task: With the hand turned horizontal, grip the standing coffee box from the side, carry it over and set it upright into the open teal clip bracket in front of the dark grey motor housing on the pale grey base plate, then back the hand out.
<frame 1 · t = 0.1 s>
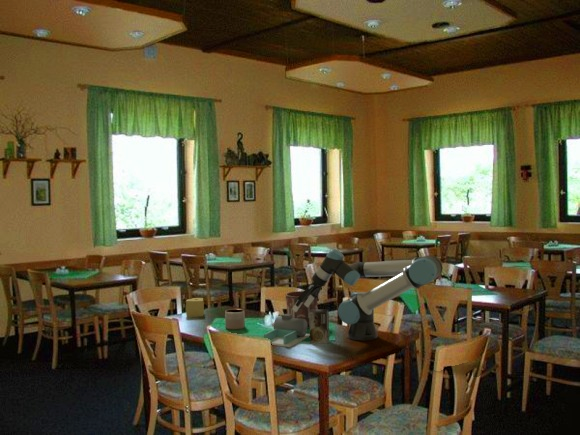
hand: (300, 308, 316), 15 cm above the table, tool tilted 35°, fingers open, 13 cm apart
planter: (235, 328, 341), on the table
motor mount: (285, 339, 313), on the table
pottery: (301, 325, 343), on the table
coffee box: (319, 342, 307), on the table
cheese: (195, 315, 375), on the table
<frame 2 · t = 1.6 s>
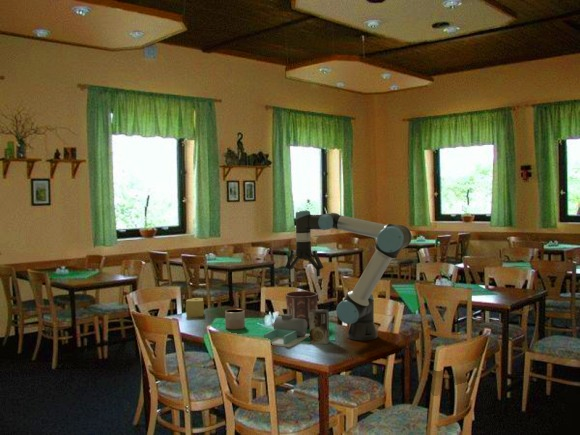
hand: (304, 282, 315), 29 cm above the table, tool pointing down, fingers open, 13 cm apart
nothing on the table moved.
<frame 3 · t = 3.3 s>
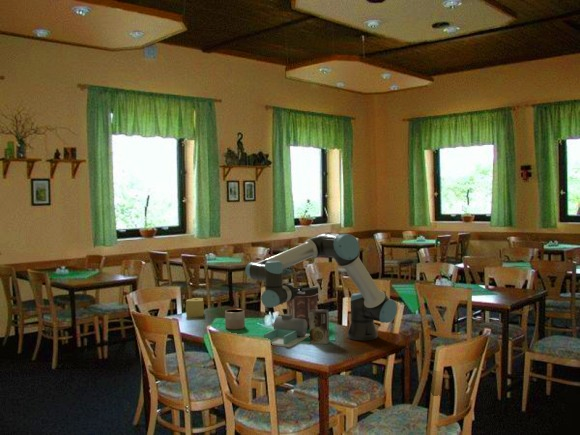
hand: (305, 286, 292), 30 cm above the table, tool horizontal, fingers open, 13 cm apart
nothing on the table moved.
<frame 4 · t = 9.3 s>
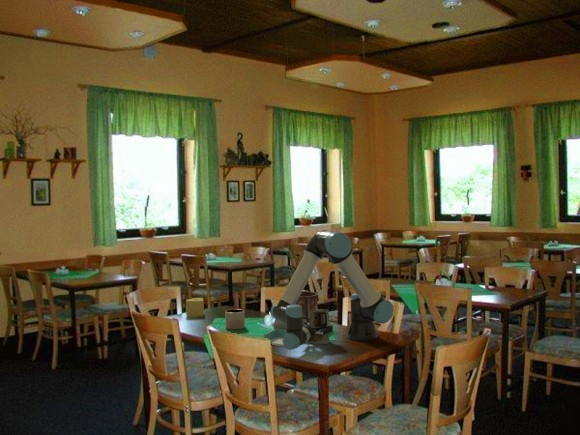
hand: (322, 324, 310), 8 cm above the table, tool horizontal, fingers closed on coffee box, 10 cm apart
coffee box: (319, 342, 307), on the table, touching gripper
everything else where it was.
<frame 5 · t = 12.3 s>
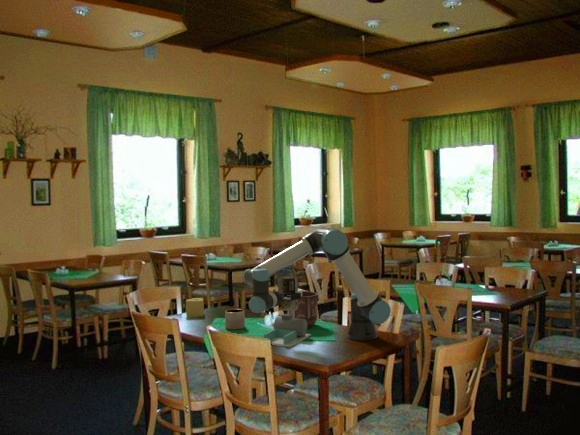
hand: (291, 292, 309), 25 cm above the table, tool horizontal, fingers closed on coffee box, 10 cm apart
coffee box: (288, 309, 306), point 17 cm above the table, touching gripper
everything else where it was.
when the fingers open (12 cm above the table, at t = 15.7 s): coffee box stays where it is, resting on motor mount.
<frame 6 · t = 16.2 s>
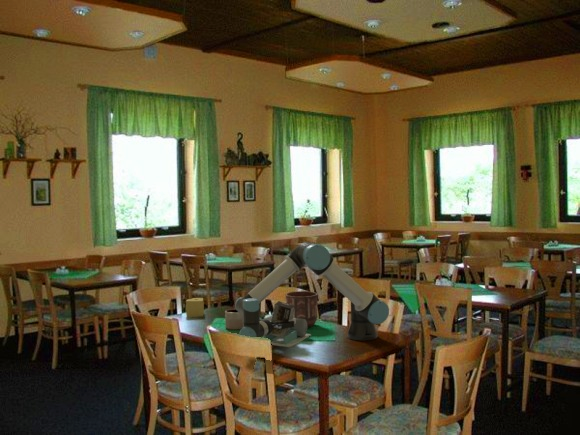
hand: (283, 319, 310), 11 cm above the table, tool horizontal, fingers open, 13 cm apart
coffee box: (278, 335, 308), point 4 cm above the table, touching gripper, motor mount
everything else where it was.
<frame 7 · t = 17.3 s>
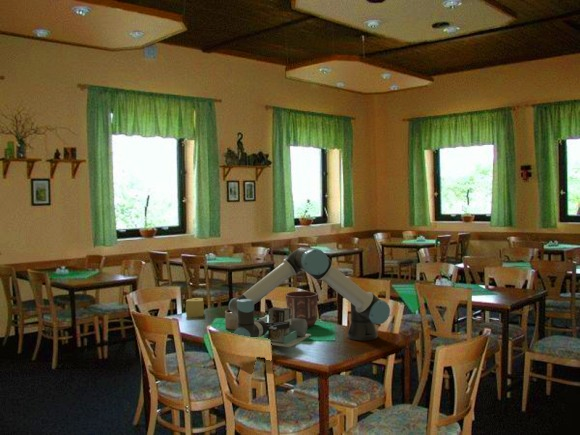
hand: (278, 320, 307), 11 cm above the table, tool horizontal, fingers open, 13 cm apart
coffee box: (278, 341, 307), point 1 cm above the table, touching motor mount
everything else where it was.
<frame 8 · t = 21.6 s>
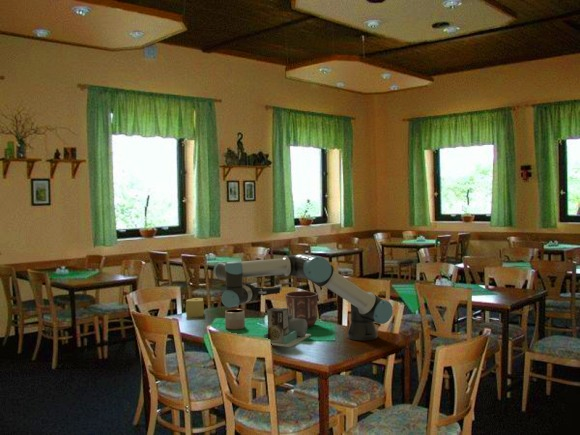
hand: (268, 286, 297), 30 cm above the table, tool horizontal, fingers open, 13 cm apart
nothing on the table moved.
at the end: coffee box 1.6 cm from the target spot on the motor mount, point 0.8 cm above the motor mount's base; coffee box tilted 0°; the gripper is holding nothing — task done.
